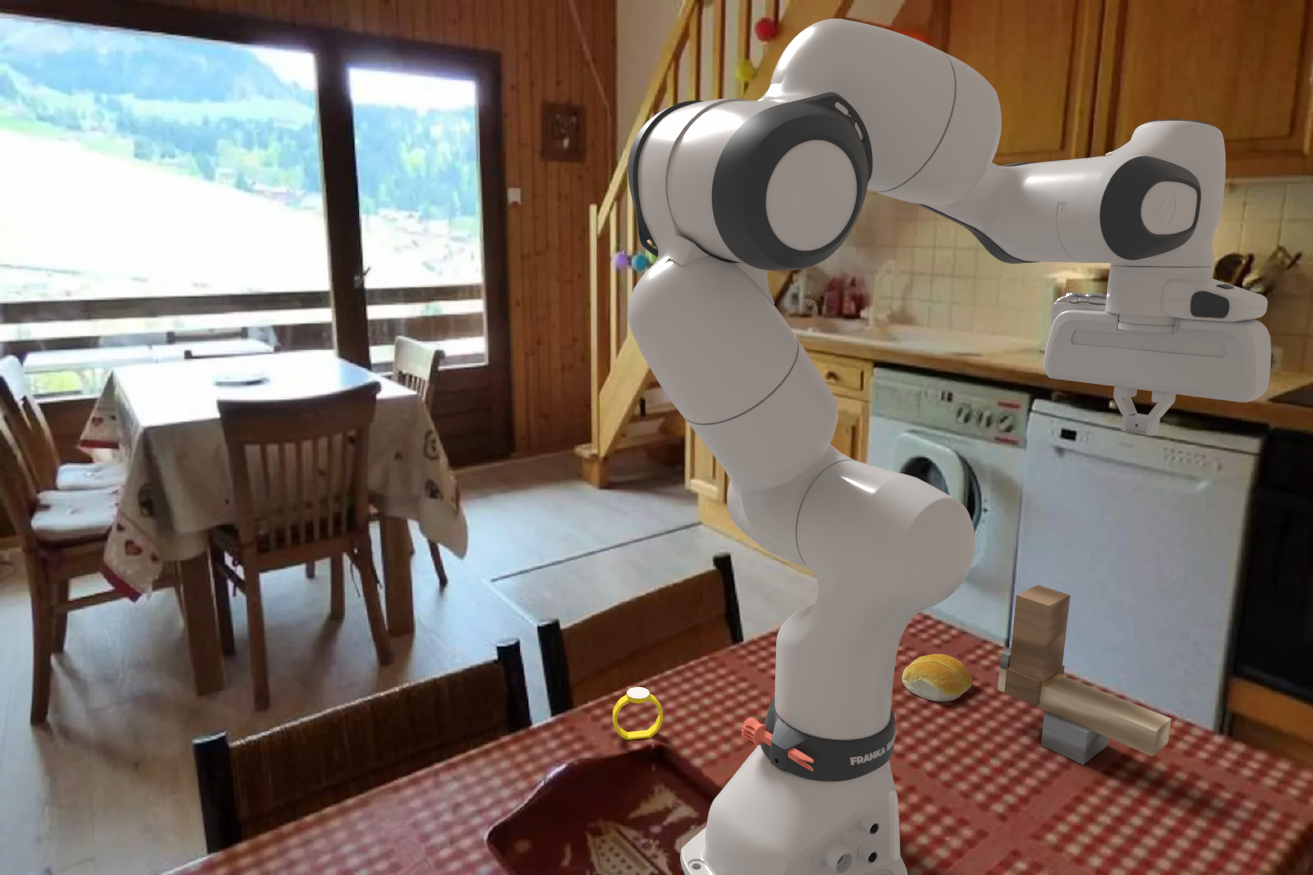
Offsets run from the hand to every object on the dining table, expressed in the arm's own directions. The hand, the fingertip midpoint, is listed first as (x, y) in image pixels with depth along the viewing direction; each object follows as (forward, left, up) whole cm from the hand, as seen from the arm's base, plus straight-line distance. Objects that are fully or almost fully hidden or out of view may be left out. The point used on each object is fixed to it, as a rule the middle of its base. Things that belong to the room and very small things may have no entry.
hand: (1139, 432), depth 88 cm
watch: (-36, +38, -39) cm, 65 cm away
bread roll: (+2, +22, -40) cm, 46 cm away
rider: (+3, +10, -34) cm, 36 cm away
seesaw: (+3, +4, -39) cm, 39 cm away
